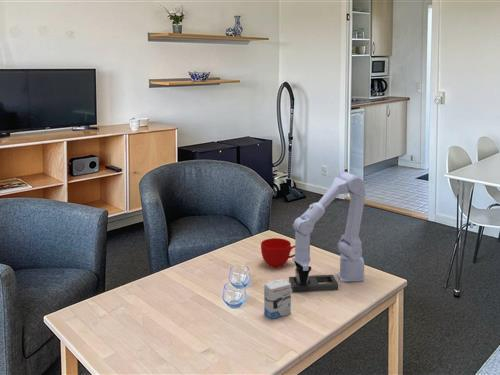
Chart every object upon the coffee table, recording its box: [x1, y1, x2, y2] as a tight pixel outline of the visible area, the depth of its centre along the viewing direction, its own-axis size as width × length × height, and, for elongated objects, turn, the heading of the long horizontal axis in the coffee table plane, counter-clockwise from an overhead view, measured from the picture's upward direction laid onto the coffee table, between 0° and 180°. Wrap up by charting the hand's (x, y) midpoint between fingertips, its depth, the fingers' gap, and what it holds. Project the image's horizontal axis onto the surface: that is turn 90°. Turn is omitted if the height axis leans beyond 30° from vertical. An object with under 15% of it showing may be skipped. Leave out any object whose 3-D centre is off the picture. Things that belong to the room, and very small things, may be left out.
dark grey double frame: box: [288, 274, 339, 293], centre depth 200 cm, size 18×9×2 cm, turn 95°
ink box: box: [263, 278, 292, 320], centre depth 178 cm, size 8×5×12 cm, turn 118°
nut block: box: [294, 267, 310, 285], centre depth 199 cm, size 4×4×6 cm
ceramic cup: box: [260, 237, 295, 269], centre depth 219 cm, size 13×17×10 cm
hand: (302, 279), depth 199 cm, fingers closed on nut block, 4 cm apart
